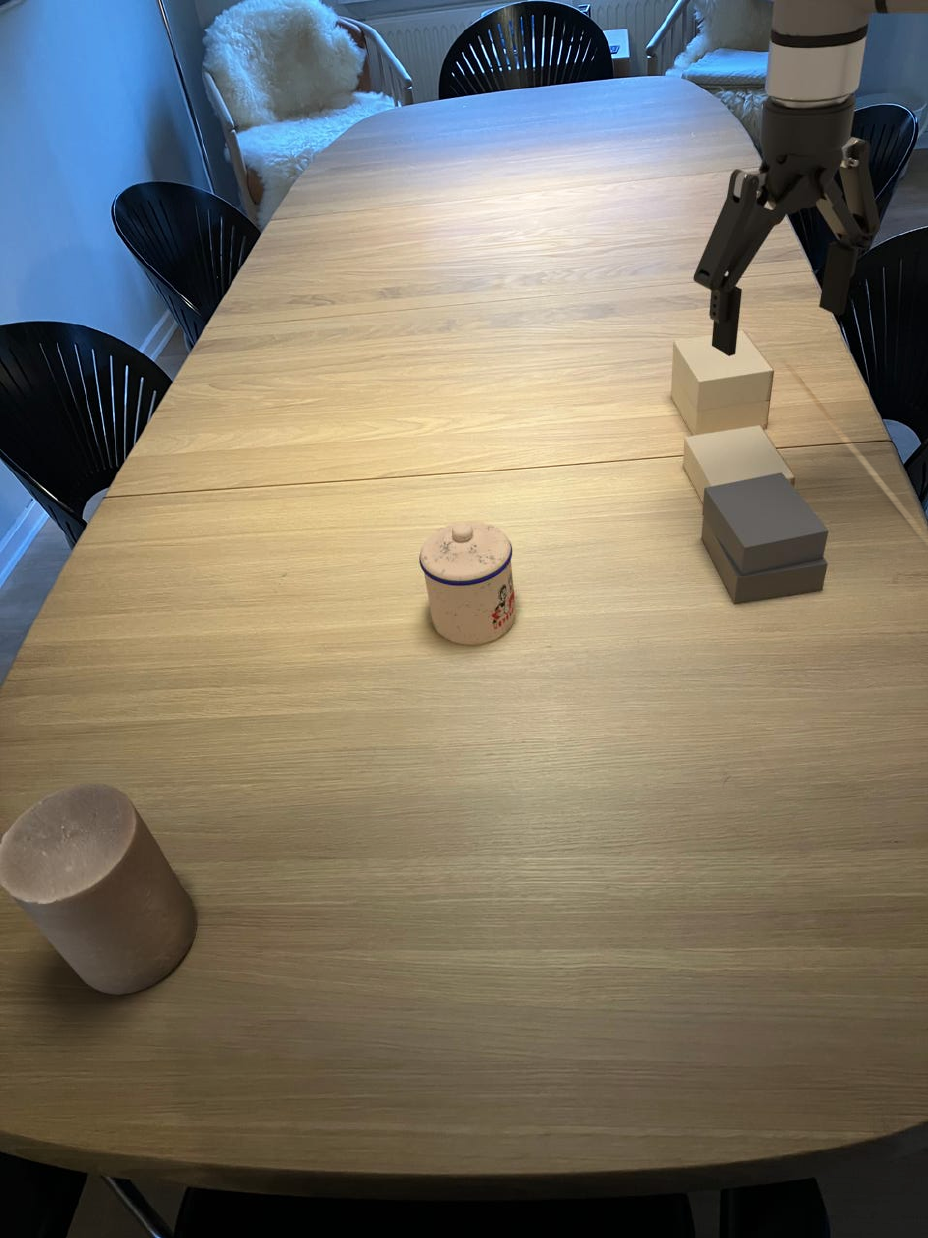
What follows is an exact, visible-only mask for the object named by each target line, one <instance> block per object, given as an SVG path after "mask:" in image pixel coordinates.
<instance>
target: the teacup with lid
mask: <svg viewBox="0 0 928 1238" xmlns="http://www.w3.org/2000/svg"><path fill="white" fill-rule="evenodd" d="M512 557H513V545H512V543H511V541H510V539H509V538H508V536H507V534H505V532H503V531H502V530H501V529H500V528H498V527H497V526H494V525H492V524H491V523H486V522H483V521H460V522H454V523H451V524H448V525H445V526H443V527H441V528H439V529H437V530H435V531H434V532H432V533H431V534H430V535H429V536H428V537H427V538H426V540H425V541H424V542H423V544H422V546H421V548H420V553H419V558H418V560H419V566H420V568H421V570H422V571H423V574H424V580H425V585H426V591H427V597H428V602H429V608H430V613H431V619H432V624H433V626H434V628H435V630H436V631H437V633H438V634H439V635H441V637H442V638H444V639H445V640H448V641H449V642H452V643H455V644H459V645H466V646H473V645H474V646H475V645H482V644H486V643H490V642H492V641H494V640H496V639H499V638H500V637H502V636H503V635H504V634H506V632H508V631H509V629H510V628H511V627H512V626H513V624H514V622H515V619H516V615H517V609H516V597H515V589H514V587H515V586H514V579H513V567H512Z"/></svg>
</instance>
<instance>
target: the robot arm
mask: <svg viewBox="0 0 928 1238" xmlns="http://www.w3.org/2000/svg"><path fill="white" fill-rule="evenodd" d="M871 14H880V15H882V14H884V15H888V14H923V15H924V14H925V15H926V14H927V15H928V0H773V8H772V21H771V30H770V36H769V37H770V39H769V44H768V55H767V63H766V65H767V66H766V72H765V73H766V74H765V83H764V84H765V85H764V91H765V93H766V94H767V95H768V97H767V98H766V99H765V100H764V101H763V102H762V110H761V119H760V129H759V145H760V147H761V151H762V161H761V164H760V166H759V168H758V170H753V171H747V172H746V171H744V170H741V169H738V168H737V169H734V170H733V171H732V172H731V174H730V176H729V183H728V188H727V193H726V199H725V201H724V202H723V205H722V208H721V210H720V212H719V215H718V218H717V220H716V222H715V224H714V227H713V229H712V231H711V234H710V236H709V238H708V241H707V243H706V245H705V248H704V251H703V252H702V255H701V257H700V260H699V262H698V265H697V267H696V269H695V272H694V274H693V282H694V283H696V284H698V285H699V286H702V287H704V288H705V289H707V290H710V300H709V304H710V305H709V312H708V313H709V314H708V316H709V319H710V320H712V321H713V325H712V335H713V336H712V346H713V347H714V348H716V349H718V350H719V351H721V352H723V353H725V354H726V355H728V356H731V355H734V354H735V352H736V343H737V333H738V331H739V321H740V312H741V302H742V292H743V289H742V288H740V287H739V286H737V285H738V283H739V282H740V280H741V278H742V277H743V276H744V274H745V272H746V270H747V269H748V267H749V266H750V265H751V262H752V261H753V260H754V258H755V256H756V255H757V254H758V253H759V252H758V251H759V250H760V248H761V247H762V246H763V245H764V242H765V241H766V239H767V238H768V237H769V235H770V234H771V231H772V230H773V228H774V227H776V226H778V225H780V224H781V223H782V222H783V221H784V219H785V217H786V216H787V215H792V214H795V213H797V212H799V211H800V210H802V209H811V208H814V207H817V209H818V210H819V213H820V214H821V215H822V216H823V218H824V220H825V221H826V223H827V225H828V226H829V228H830V229H831V231H832V232H833V234H834V235H835V237H836V239H837V240H838V241H839V242H837V241H833V242H830V243H828V249H827V257H826V261H825V262H826V263H825V268H824V274H823V280H822V287H821V291H820V292H821V294H820V299H819V305H818V307H819V308H821V309H822V310H825V311H827V312H829V313H831V314H833V315H835V316H836V317H837V316H841V315H844V314H845V309H846V302H847V298H848V293H849V287H850V283H851V278H852V277H854V276H853V275H854V274H855V271H856V265H857V261H858V255H859V251H860V250H866V249H868V247H869V246H870V244H871V237H869V236H876V235H877V234H878V233H879V232H880V229H881V222H880V217H879V211H878V207H877V201H876V197H875V192H874V187H873V183H872V178H871V174H870V169H869V161H870V160H869V159H870V149H871V143H870V142H869V141H868V140H864V139H860V138H857V137H854V136H851V135H852V127H853V122H854V121H853V120H854V114H855V109H856V102H857V99H856V98H855V97H854V95H853V93H855V92H856V90H857V89H858V88H859V86H860V81H861V73H862V67H863V62H864V61H863V60H864V54H865V49H866V41H867V35H868V29H869V22H870V17H871ZM838 171H839V175H840V179H841V183H842V188H843V192H844V193H843V192H842V190H841V188H840V187H839V185H838V183H837V182H836V180H835V176H836V174H837V173H838ZM843 195H844V197H845V200H844V199H843ZM845 201H846V202H845ZM767 203H768V205H769V207H770V208H771V209H770V208H767V207H766V204H767ZM726 274H727V275H726Z"/></svg>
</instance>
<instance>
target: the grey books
mask: <svg viewBox="0 0 928 1238" xmlns="http://www.w3.org/2000/svg"><path fill="white" fill-rule="evenodd" d="M701 513H702V514H701V515H702V527H701V538H700V539H701V540H702V542H703V544H704V546H705V548H706V550H707V552H708V555H709V556H710V558H711V560H712V562H713V564H714V567H715V568H716V570H717V572H718V575H719V576H720V578H721V580H722V582H723V585H724V587H725V589H726V591H727V592H728V595H729V596H730V598H731V600H732V603H733V604H734V605H738V604H742V603H743V604H744V603H750V602H755V601H762V600H768V599H774V598H780V597H787V596H793V595H799V594H806V593H812V592H819V591H823V589H824V585H825V579H826V575H827V569H828V565H829V563H828V562H827V560H826V558H825V556H824V555H825V551H826V546H827V540H828V537H829V536H828V534H829V529H828V528H827V527H826V525H825V524H824V523H823V521H822V520H821V519H820V518H819V517H818V515H817V514H816V513H815V511H814V510H813V509H812V508H811V507H810V506H809V504H808V503H807V502H806V500H805V499H804V498H803V497H802V495H800V492H798V491H797V489H796V488H795V486H794V487H793V486H792V484H791V483H790V482H789V481H788V479H787V478H786V477H785V476H784V474H783V473H782V472H781V473H776V474H771V475H766V476H761V477H756V478H751V479H746V480H741V481H736V482H731V483H726V484H721V485H716V486H711V487H707V488H704V500H703V503H702V512H701Z"/></svg>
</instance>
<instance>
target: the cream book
mask: <svg viewBox="0 0 928 1238" xmlns="http://www.w3.org/2000/svg"><path fill="white" fill-rule="evenodd" d="M683 439H684V440H683V456H682V458H683V459H682V467H683V468H684V471H685V472H686V474H687V476H688V478H689V480H690V482H691V484H692V486H693V488H694V489H695V491H696V493H697V495H698V497H699V499H700V501H701V503H702V504H703V500H704V488H707V487H711V486H716V485H721V484H726V483H731V482H736V481H741V480H746V479H751V478H756V477H761V476H766V475H771V474H776V473H781V472H782V473H783V474H784V476H785V477H786V478H787V479H788V481H789V482H790V483H791V484H792V486H793V487H794V488H795V484H796V475H795V474H794V472H793V470H792V469H791V468H790V466H789V465H788V463H787V462H786V461H785V460H786V459H784V457H783V456H782V454H781V453H780V451H779V450H778V449H777V448H776V447H777V446H775V444H774V442H773V441H772V440H771V438H770V437H769V435H768V434H767V433H766V431H765V429H763V428H762V427H761V425H759V426H752V427H746V428H740V429H733V430H727V431H721V432H714V433H708V434H701V435H695V436H693V435H690V436H684V438H683Z"/></svg>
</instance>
